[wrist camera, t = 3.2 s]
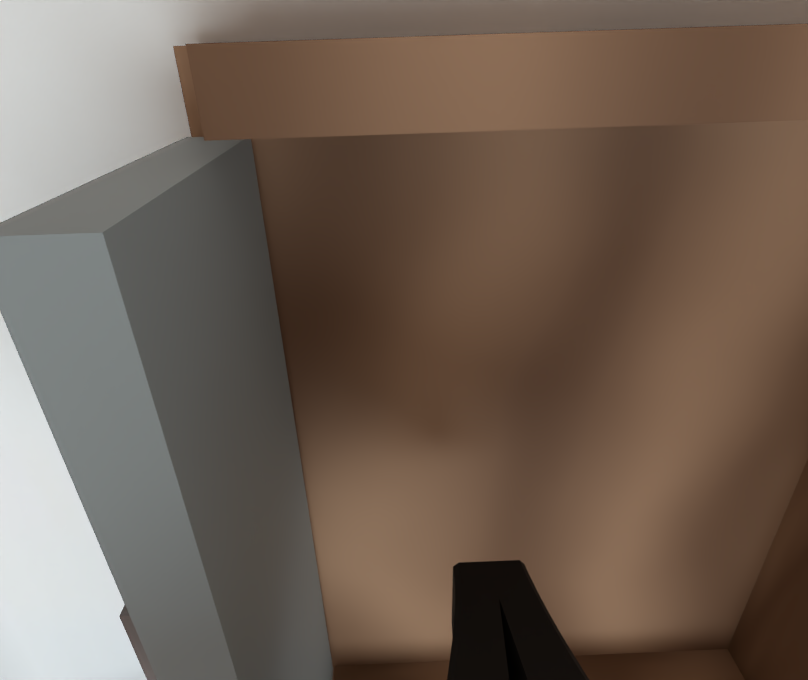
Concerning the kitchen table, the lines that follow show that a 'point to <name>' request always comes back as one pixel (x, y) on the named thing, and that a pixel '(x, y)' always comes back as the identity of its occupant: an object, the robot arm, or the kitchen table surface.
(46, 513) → the kitchen table surface
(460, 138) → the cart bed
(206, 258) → the panel
